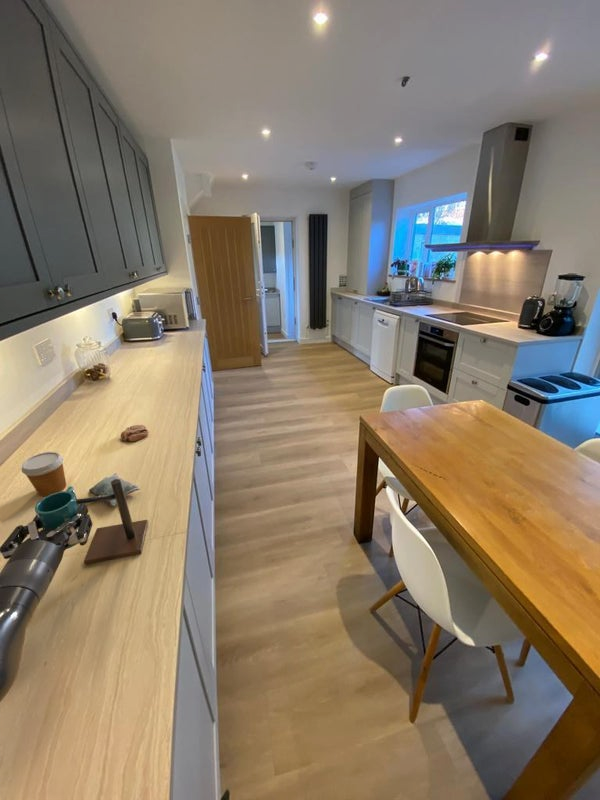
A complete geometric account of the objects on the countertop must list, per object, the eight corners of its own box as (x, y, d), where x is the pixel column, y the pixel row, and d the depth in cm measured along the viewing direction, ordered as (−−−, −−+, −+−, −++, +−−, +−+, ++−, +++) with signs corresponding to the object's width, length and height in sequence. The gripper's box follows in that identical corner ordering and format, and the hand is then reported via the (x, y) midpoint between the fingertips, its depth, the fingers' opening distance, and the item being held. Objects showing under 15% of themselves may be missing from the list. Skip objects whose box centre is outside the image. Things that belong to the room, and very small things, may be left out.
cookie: (149, 427, 133) (147, 420, 132) (148, 439, 124) (147, 432, 123) (122, 431, 130) (120, 425, 128) (119, 444, 121) (118, 437, 119)
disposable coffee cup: (79, 491, 97) (67, 457, 92) (42, 509, 90) (27, 474, 85) (65, 479, 102) (53, 447, 97) (29, 496, 95) (14, 462, 90)
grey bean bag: (118, 480, 102) (114, 467, 99) (141, 493, 96) (138, 480, 94) (89, 496, 95) (85, 483, 93) (113, 512, 89) (108, 498, 87)
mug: (80, 546, 68) (67, 510, 64) (44, 553, 66) (28, 516, 62) (96, 511, 77) (85, 477, 73) (65, 516, 76) (51, 482, 72)
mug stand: (148, 522, 86) (134, 466, 78) (141, 553, 77) (125, 493, 69) (84, 534, 82) (63, 476, 75) (69, 567, 73) (44, 506, 66)
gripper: (68, 551, 55) (97, 489, 70) (-34, 570, 52) (20, 501, 66) (80, 582, 58) (106, 516, 73) (-15, 601, 55) (32, 528, 69)
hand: (64, 509), depth 70 cm, fingers closed on mug, 6 cm apart
